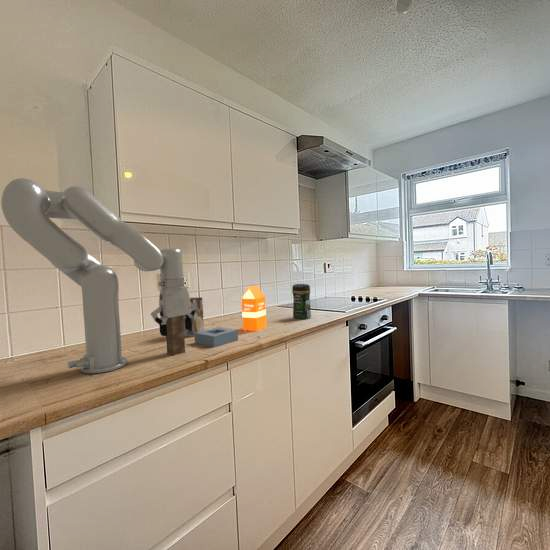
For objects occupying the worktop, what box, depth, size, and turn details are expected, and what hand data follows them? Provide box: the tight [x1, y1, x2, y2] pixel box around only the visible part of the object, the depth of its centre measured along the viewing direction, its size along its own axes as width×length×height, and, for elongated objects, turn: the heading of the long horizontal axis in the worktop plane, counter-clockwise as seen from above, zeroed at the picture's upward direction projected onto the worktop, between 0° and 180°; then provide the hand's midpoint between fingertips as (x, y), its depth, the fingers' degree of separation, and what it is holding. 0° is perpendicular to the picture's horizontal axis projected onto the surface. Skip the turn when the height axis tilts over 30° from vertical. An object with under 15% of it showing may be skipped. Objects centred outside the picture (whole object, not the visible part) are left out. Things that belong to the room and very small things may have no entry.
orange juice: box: [241, 285, 267, 332], centre depth 140 cm, size 8×9×20 cm
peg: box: [165, 316, 186, 356], centre depth 105 cm, size 4×4×14 cm
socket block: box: [194, 326, 239, 348], centre depth 119 cm, size 12×12×4 cm
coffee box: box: [183, 296, 205, 337], centre depth 134 cm, size 9×6×16 cm
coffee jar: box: [291, 283, 312, 320], centre depth 163 cm, size 10×8×19 cm
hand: (176, 332), depth 105 cm, fingers open, 9 cm apart
